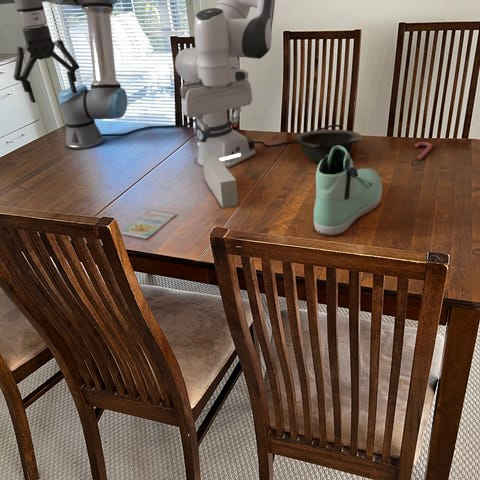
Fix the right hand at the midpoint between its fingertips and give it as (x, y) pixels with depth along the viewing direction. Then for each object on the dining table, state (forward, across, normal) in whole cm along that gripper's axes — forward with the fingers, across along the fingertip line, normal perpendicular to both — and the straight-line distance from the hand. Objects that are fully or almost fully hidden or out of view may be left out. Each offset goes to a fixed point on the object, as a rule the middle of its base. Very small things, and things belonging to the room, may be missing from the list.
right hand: (219, 126), depth 136 cm
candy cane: (+24, +74, -7) cm, 78 cm away
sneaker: (+24, +27, -25) cm, 44 cm away
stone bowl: (+24, +47, +11) cm, 54 cm away
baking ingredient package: (+24, -25, 0) cm, 35 cm away
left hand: (-6, -36, +47) cm, 60 cm away
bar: (+24, +2, +8) cm, 25 cm away
